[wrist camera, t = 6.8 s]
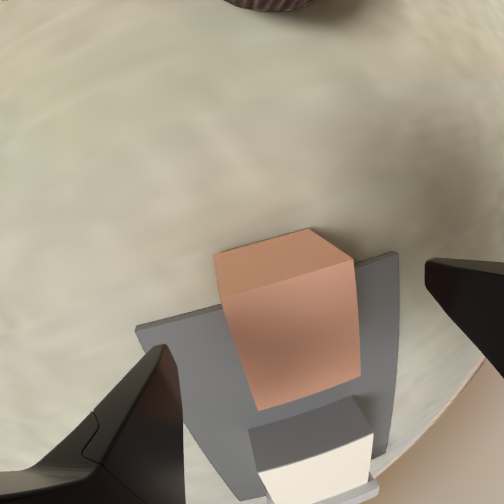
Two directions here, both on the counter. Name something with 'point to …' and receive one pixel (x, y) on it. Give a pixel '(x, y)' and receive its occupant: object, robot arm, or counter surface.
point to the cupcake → (270, 4)
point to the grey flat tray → (290, 404)
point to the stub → (291, 315)
